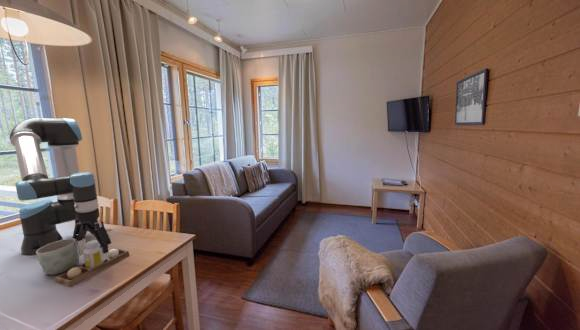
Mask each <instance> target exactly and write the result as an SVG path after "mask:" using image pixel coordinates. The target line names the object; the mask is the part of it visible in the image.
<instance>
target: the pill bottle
mask: <svg viewBox="0 0 580 330" xmlns="http://www.w3.org/2000/svg"><path fill="white" fill-rule="evenodd" d="M100 246H101V245H100V244H99V242H98V241H97V240H96V239H93V240H89V241H86V243H85V248H86V249H85V250H84V251H83V255H82V256H83V259H84V263H85V267H86V268H90V269H93V268H95V267H97V266H99V265H101V264H103V263H105V262H104V261H101V255H100V248H99V247H100Z"/></svg>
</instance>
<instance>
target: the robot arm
mask: <svg viewBox="0 0 580 330" xmlns="http://www.w3.org/2000/svg"><path fill="white" fill-rule="evenodd" d="M81 131H82V130H81V128H80V126H79V124H78V122H77V121H76V119H73V118H67V117H66V118H65V117H62V118H61V117H58V118H57V117H53V118H51V117H49V118H48V117H31V118H27V119H24V120H22V121H20V122H18V123H17V124H16V125H15V126H14V127H13V128H12V129H11V132H10V133H9V140H10V144H11V145H12V146H13V147H14V148H15V152H16V157H17V162H18V164H17V165H18V168H19V173H20V177H21V181H17V182H16V183H15V188H16V194H17V198H18V200H19V201H21V202H22V201H31V200H32V201H33V200H38V199H42V200H39V201H35V202H31V203H28V204H26V205H23V206H22V207H21V208H19V211H18V212H19V213H18V214H19V218H18V219H19V220H20V222H21V228H22V229H21V230H22V233H23V239H22V243H21V246H20V251H21V255H28V256H29V255H30V256H32V255H37V254H36V251H37V250H38V249H39V248H41V247H43V246H45V245H47V244H50V243H53V242H56V241H59V240H63V236H62V235H61V234H60V232H59V231H58V229H57V225H60V224H64V223H69V222H73V221H74V224H75V225H74V228H73V229H74V230H73V233H72V234H73V235H72V238H73V239H75V240H76V243H77V248H78V252H79V257H80V256H84V255H83V251H84V250H85V249H86V248H85V243H86V242H87V240H86V234H87V233H90V234H91V235H93V236H94V238H95V240H97V241H98V242H99V245H100V247H99V248H100V255H101V261H104V260H106V259H108V258H109V253H108V251H109V246H108V245H111V244H112V239H111V238H110V236H109V234H108V232H107V230H106V228H105V224H104V221H100V222H98V218H100V208H99V202H98V201H99V200H98V196H97V195H98V194H97V187H96V179H95V175H94V173H93V172H86V171H84V172H80V168H79V161H78V154H77V147H78V146H79V145H80V143H79V142H81V141H82V140H83V135H82V132H81ZM41 143H47V146H48V147H49V148H51V149H52V150H53V155H54V162H55V169H56V173H57V177H49V176H48V172H47V167H46V165H45V164H46V163H45V161H44V157H43V152H42V149H41ZM55 196H57V199H56V200H57V201H53V200H51V199H45V198H50V197H55ZM43 198H44V199H45V200H43Z"/></svg>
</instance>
